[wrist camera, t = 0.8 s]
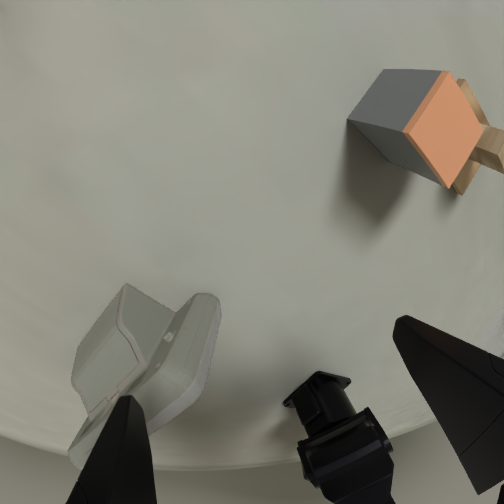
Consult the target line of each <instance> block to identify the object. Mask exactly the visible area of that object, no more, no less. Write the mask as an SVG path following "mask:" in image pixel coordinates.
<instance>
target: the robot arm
mask: <svg viewBox="0 0 504 504" xmlns="http://www.w3.org/2000/svg"><path fill="white" fill-rule="evenodd" d="M393 340H394V343H395V345H396V347H397V349H398V351H399V353H400V355H401V357H402V359H403V361H404V363H405V365H406V367H407V369H408V371H409V373H410V375H411V377H412V378H413V380H414V382H415V383H416V385H417V386H418V388H419V390H420V391H421V393H422V395H423V396H424V398H425V400H426V401H427V403H428V405H429V406H430V408H431V410H432V411H433V413H434V415H435V417H436V418H437V420H438V422H439V423H440V425H441V427H442V428H443V430H444V432H445V434H446V436H447V437H448V439H449V441H450V443H451V444H452V446H453V448H454V450H455V452H456V454H457V456H459V457H458V458H459V460H460V462H461V463H462V465H463V467H464V469H465V471H466V473H467V475H468V477H469V479H470V481H471V483H472V485H473V487H474V489H475V491H476V492H477V494H478V495H480V494H481V493H483V492H485V491H486V490H488V489H490V488H491V487H493V486H495V485H496V484H498V483H499V482H501V481H503V480H504V359H502V358H500V357H497V356H495V355H493V354H491V353H488V352H486V351H484V350H482V349H480V348H478V347H476V346H474V345H471V344H469V343H467V342H465V341H463V340H461V339H459V338H456V337H454V336H452V335H450V334H448V333H446V332H443V331H441V330H439V329H437V328H435V327H433V326H430V325H428V324H426V323H424V322H422V321H420V320H417V319H415V318H413V317H411V316H409V315H404V316H402V317H399V318H397V320H396V322H395V326H394V330H393ZM350 383H351V379H350V378H346V377H342V376H338V375H334V374H330V373H326V372H322V371H318V372H316V373H315V374H314V375H313V376H312V377H311V378H310V379H309V380H307V381H306V382H305V383H304V384H303V385H302V386H301V387H300V388H299V389H298V390H297V391H296V392H294V393H293V394H292V395H291V396H290V397H289V398H288V399H287V400H285V401H284V402H283V404H284V406H285V407H290V408H295V409H296V411H297V414H298V416H299V418H300V421H301V423H302V425H304V427H305V430H306V432H307V435H308V437H309V438H307V439H305V440H301V441H298V446H299V447H297V451H298V453H299V456H300V459H301V463H302V469H303V476H304V478H305V480H307V481H310V482H311V483H312V484H313V485H314V487H315V488H316V489H318V488H320V489H321V491H322V493H323V495H324V497H325V498H326V499H328V500H329V501H331V502H333V503H334V504H395V502H394V500H393V498H392V497H391V494H390V492H391V485H392V477H393V469H394V463H393V461H392V459H391V457H390V455H389V454H390V453H391V452H393V448H392V445H391V443H390V441H389V439H388V437H387V435H386V434H385V432H384V430H383V429H382V427H381V426H380V424H379V423H378V421H377V419H376V418H375V416H374V415H373V413H372V412H371V410H370V409H369V407H367V408H365V409H364V410H363V411H361V412H359V413H356V411H355V409H354V408H353V406H352V404H351V402H350V400H349V399H348V397H347V395H346V393H345V391H344V389H345V388H346V387H347V386H348V385H349V384H350ZM65 504H157V500H156V491H155V483H154V475H153V464H152V454H151V448H150V443H149V438H148V432H147V427H146V421H145V415H144V411H143V408H142V407H141V405H140V404H139V403H138V402H137V400H136V399H135V398H134V396H133V395H131V394H129V395H122V396H120V397H119V398H118V400H117V402H116V404H115V406H114V407H113V409H112V411H111V413H110V415H109V417H108V419H107V421H106V423H105V425H104V427H103V429H102V431H101V433H100V435H99V437H98V439H97V441H96V443H95V445H94V447H93V449H92V451H91V453H90V455H89V457H88V459H87V461H86V463H85V465H84V467H83V469H82V471H81V473H80V475H79V477H78V481H77V482H76V484H75V486H74V488H73V490H72V492H71V494H70V496H69V498H68V500H67V502H66V503H65ZM497 504H504V484H503V485H502V486H501V489H500V493H499V498H498V502H497Z"/></svg>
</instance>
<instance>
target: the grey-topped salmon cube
mask: <svg viewBox="0 0 504 504" xmlns="http://www.w3.org/2000/svg"><path fill="white" fill-rule="evenodd" d="M347 119H348V120H349V121H350V122H351V123H352V124H353V125H354V126H355V127H356V128H357V129H358V130H359V131H360V132H361V133H362V134H363V135H364V136H365V137H366V138H367V139H368V140H369V141H370V142H371V143H372V144H373V145H374V146H375V147H376V148H377V149H378V150H379V151H380V152H381V153H382V154H383V155H384V157H385V158H386V159H387V160H388V161H389V162H391V163H394V164H396V165H398V166H401V167H403V168H405V169H408V170H410V171H412V172H414V173H417V174H419V175H421V176H423V177H425V178H427V179H430V180H432V181H434V182H436V183H438V184H440V185H442V186H444V187H446V188H448V189H449V188H450V186H451V185H452V183H453V182H454V180H455V178H456V177H457V175H458V174H459V172H460V170H461V169H462V167H463V166H464V164H465V162H466V161H467V159H468V157H469V155H470V154H471V152H472V150H473V149H474V147H475V145H476V143H477V142H478V140H479V138H480V136H481V134H482V133H483V129H482V127H481V125H480V123H479V121H478V119H477V117H476V115H475V114H474V112H473V110H472V108H471V106H470V105H469V103H468V101H467V99H466V98H465V96H464V94H463V92H462V91H461V89H460V87H459V86H458V84H457V83H456V81H455V79H454V78H453V76H452V75H451V73H450V72H449V71H436V70H415V69H384V70H383V71H382V72H381V74H380V75H379V76H378V78H377V79H376V80H375V82H374V83H373V84H372V86H371V87H370V89H369V90H368V91H367V93H366V94H365V95H364V97H363V98H362V99H361V101H360V102H359V103H358V105H357V106H356V107H355V109H354V110H353V112H352V113H351V114H350V116H349V117H348V118H347Z"/></svg>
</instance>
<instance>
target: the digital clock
mask: <svg viewBox="0 0 504 504" xmlns="http://www.w3.org/2000/svg"><path fill="white" fill-rule="evenodd" d="M221 316H222V314H221V307H220V302H219V299H218V298H217V297H216V296H214V295H212V294H208V293H197V294H195V295H194V296H193V297H192V298H191V299H190V300H189V301H188V302H187V303H186V304H185V305H184V306H183V307H182V308H181V309H180V310H179V311H178V312H177V313H176V312H174V311H172V310H170V309H169V308H167V307H165V306H164V305H162V304H160V303H159V302H157V301H156V300H154V299H152V298H151V297H149V296H147V295H146V294H144V293H143V292H141V291H139V290H138V289H136V288H135V287H133V286H131V285H130V284H125V285H124V286H123V288H122V289H121V290H120V291H119V293H118V294H117V295H116V297H115V298H114V299H113V300H112V302H111V303H110V304H109V306H108V307H107V308H106V310H105V311H104V312H103V314H102V315H101V316H100V317H99V319H98V320H97V322H96V323H95V324H94V326H93V327H92V328H91V330H90V331H89V332H88V334H87V335H86V337H85V338H84V339H83V341H82V342H81V343H80V345H79V346H78V349H77V353H76V357H75V362H74V366H73V371H72V376H71V383H72V387H73V388H74V389H75V390H76V391H77V392H78V394H79V395H80V397H81V398H82V401H83V403H84V405H85V408H86V411H87V414H88V417H87V419H86V421H85V422H84V424H83V425H82V427H81V429H80V430H79V432H78V434H77V435H76V437H75V439H74V440H73V442H72V444H71V446H70V447H69V449H68V455H69V458H70V460H71V461H72V463H73V464H74V465H75V466H76V467H77V468H79V469H83V467H84V465H85V463H86V461H87V459H88V457H89V455H90V453H91V451H92V449H93V447H94V445H95V443H96V441H97V439H98V437H99V435H100V433H101V431H102V429H103V427H104V425H105V423H106V421H107V419H108V417H109V415H110V413H111V411H112V409H113V407H114V406H115V404H116V402H117V400H118V398H119V397H120V396H122V395H129V394H131V395H133V396H134V398H135V399H136V400H137V402H138V403H139V404H140V405H141V407H142V408H143V411H144V415H145V421H146V427H147V432H148V436H149V435H150V434H152V433H153V432H155V431H156V430H158V429H159V428H161V427H162V426H163V425H165V424H166V423H168V422H169V421H171V420H172V419H173V418H175V417H176V416H178V415H179V414H180V413H182V412H183V411H184V410H186V409H187V408H188V407H189V406H191V405H192V404H193V403H194V402H195V401H196V400H197V399H198V398H199V397H200V395H201V394H202V392H203V389H204V386H205V383H206V379H207V376H208V371H209V367H210V363H211V359H212V355H213V350H214V346H215V342H216V338H217V334H218V329H219V325H220V321H221Z"/></svg>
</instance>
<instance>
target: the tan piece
mask: <svg viewBox="0 0 504 504" xmlns="http://www.w3.org/2000/svg"><path fill="white" fill-rule="evenodd" d="M457 84H458V86H459V87H460V89H461V91H462V92H463V94H464V96H465V98H466V99H467V101H468V103H469V105H470V106H471V108H472V110H473V112H474V114H475V115H476V117H477V119H478V121H479V123H480V125H481V127H482V129H483V133H482V134H481V136H480V138H479V140H478V142H477V143H476V145H475V147H474V149H473V150H472V152H471V154H470V155H469V157H468V159H467V161H466V162H465V164H464V166H463V167H462V169H461V170H460V172H459V174H458V175H457V177H456V178H455V180H454V182H453V183H452V186H453V187H454V189H455V190H456V192H457V193H459V194H461V195H463V194H464V192H465V190H466V189H467V187H468V186H469V184H470V182H471V181H472V179H473V177H474V176H475V174H476V172H477V170H478V169H479V167H480V165H481V164H482V165H485V166H487V167H489V168H492V169H494V170H496V171H498V172H501V173H503V174H504V130H501V129H497V128H494V127H491V126H490V125H489V123H488V121H487V119H486V117H485V115H484V113H483V111H482V109H481V107H480V105H479V103H478V101H477V99H476V97H475V96H474V94H473V92H472V90H471V88H470V87H469V85H468V83H467V81H466V80H465V79H458V81H457Z"/></svg>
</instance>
